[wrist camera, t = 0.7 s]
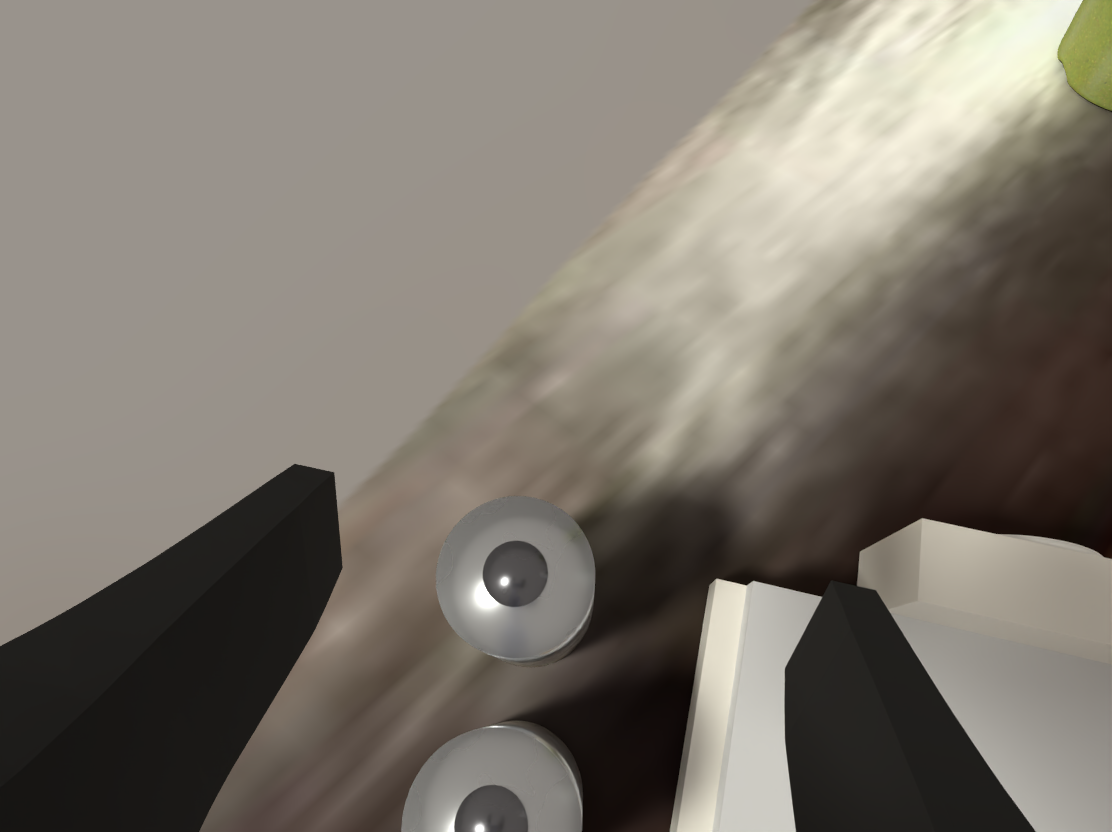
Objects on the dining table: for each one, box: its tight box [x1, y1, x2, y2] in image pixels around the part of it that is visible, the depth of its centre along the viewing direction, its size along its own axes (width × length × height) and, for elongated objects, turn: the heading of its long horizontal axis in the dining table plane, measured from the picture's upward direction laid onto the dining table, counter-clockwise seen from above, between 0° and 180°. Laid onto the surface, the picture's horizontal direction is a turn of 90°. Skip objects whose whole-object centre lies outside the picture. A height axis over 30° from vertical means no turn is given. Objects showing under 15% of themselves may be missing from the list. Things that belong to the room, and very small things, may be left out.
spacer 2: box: [401, 720, 583, 832], centre depth 20 cm, size 4×4×6 cm
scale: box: [670, 518, 1112, 832], centre depth 20 cm, size 15×18×5 cm
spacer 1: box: [436, 496, 595, 667], centre depth 22 cm, size 4×4×6 cm
